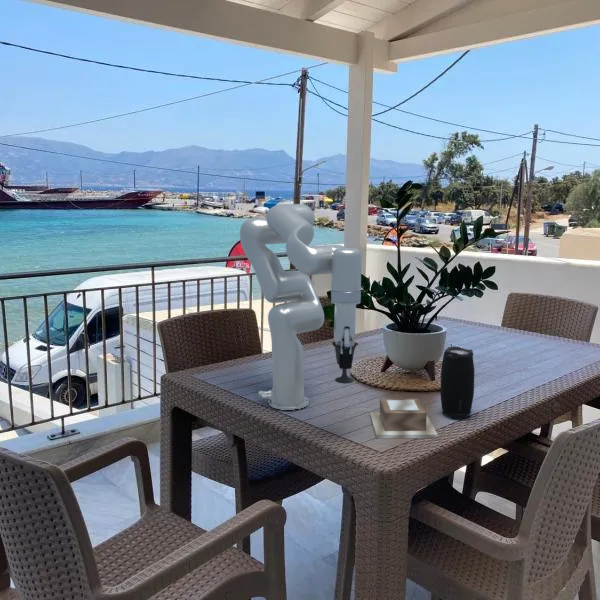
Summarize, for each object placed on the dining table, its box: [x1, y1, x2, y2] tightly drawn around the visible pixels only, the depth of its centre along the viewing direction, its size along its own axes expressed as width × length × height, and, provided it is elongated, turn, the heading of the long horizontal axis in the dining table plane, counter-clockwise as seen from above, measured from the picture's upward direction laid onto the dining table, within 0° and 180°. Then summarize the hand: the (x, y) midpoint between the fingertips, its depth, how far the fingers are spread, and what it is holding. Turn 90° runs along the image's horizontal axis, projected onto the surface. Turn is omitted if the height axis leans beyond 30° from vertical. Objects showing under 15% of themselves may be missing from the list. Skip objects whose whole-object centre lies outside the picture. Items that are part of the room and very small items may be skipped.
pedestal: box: [369, 398, 439, 439], centre depth 157 cm, size 16×16×6 cm
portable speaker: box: [440, 345, 475, 421], centre depth 164 cm, size 9×9×20 cm
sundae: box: [331, 339, 359, 385], centre depth 149 cm, size 7×7×15 cm
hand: (344, 364), depth 149 cm, fingers closed on sundae, 4 cm apart
